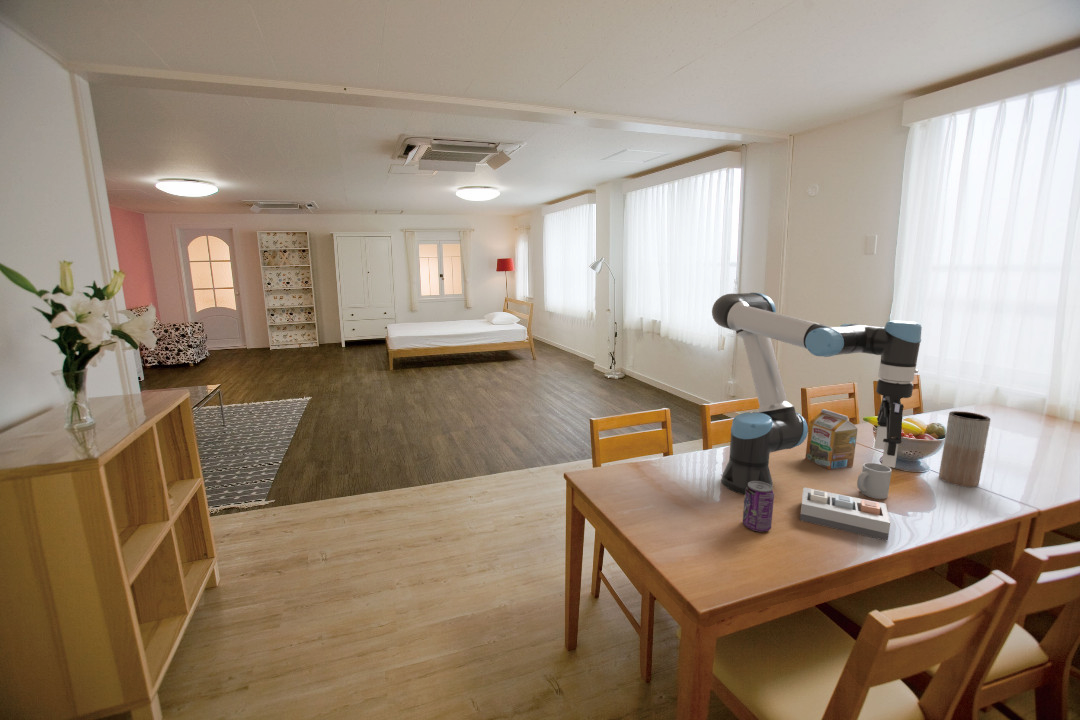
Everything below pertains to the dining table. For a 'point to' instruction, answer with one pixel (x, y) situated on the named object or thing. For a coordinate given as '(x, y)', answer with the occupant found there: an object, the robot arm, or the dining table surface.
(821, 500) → the key left
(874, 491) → the cup
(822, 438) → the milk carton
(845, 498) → the key mid
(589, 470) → the dining table surface
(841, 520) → the keypad
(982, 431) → the planter
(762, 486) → the beverage can
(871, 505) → the key right
